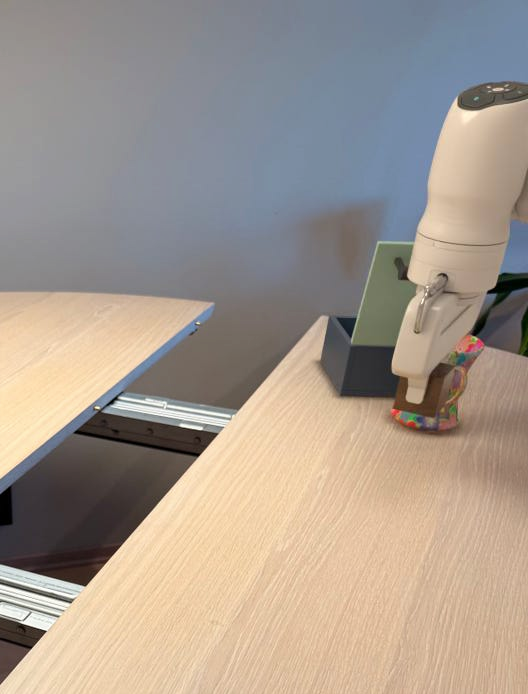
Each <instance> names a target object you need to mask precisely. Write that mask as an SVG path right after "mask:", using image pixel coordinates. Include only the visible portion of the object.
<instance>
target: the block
mask: <svg viewBox="0 0 528 694" xmlns="http://www.w3.org/2000/svg"><path fill="white" fill-rule="evenodd" d="M455 367H456V366H455V365H450V364H445V363H439V364H438V365H437V366H436V367H435V368H434V370H433V371H432V372H431V374H430V375H429V380H428V384H427V385H429V386H428V390H427V393H426V398H425V399H424V400H423V401H422V402H421V403H420V404H416V403H411V402H408V401H407V400H406V394H407V390H408V378H407V377H403V376H400V379H399V384H398V388H397V392H396V397H394V401H393V404H392V406H393V409H396V410H400V411H404V412H409V413H413V414H417V415H421V416H426V417H430V418H434V417H435V416H436V415H437V414H438V413H439V412H440V410H441V409H442V408H443V407H444V406H445V404H446V400H447V397H448V393H449V389H450V385H451V382H452V378H453V374H454V370H455Z"/></svg>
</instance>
